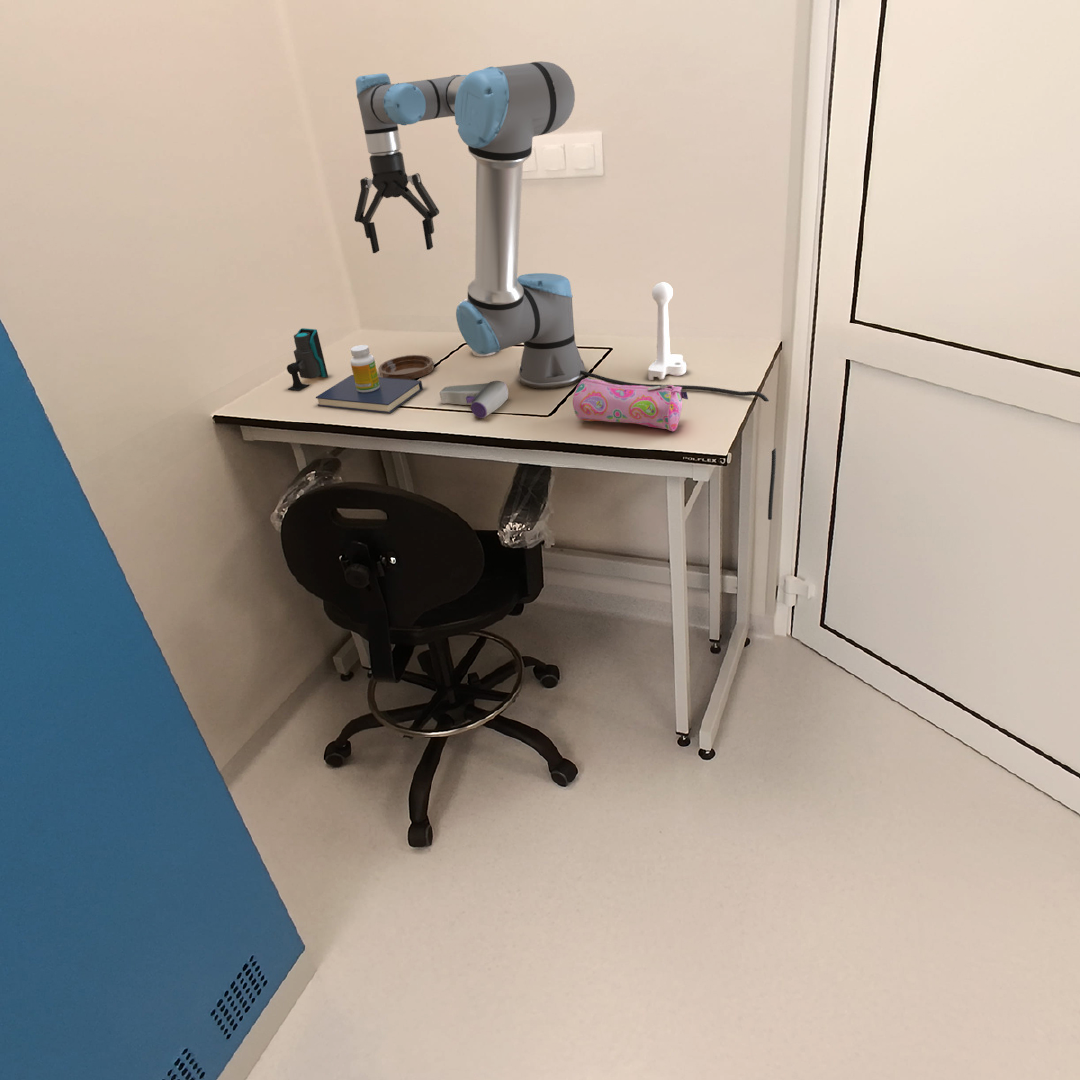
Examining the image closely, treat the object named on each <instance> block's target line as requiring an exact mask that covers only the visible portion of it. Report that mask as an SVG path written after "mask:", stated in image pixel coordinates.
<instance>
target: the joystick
mask: <svg viewBox="0 0 1080 1080" xmlns="http://www.w3.org/2000/svg"><path fill="white" fill-rule="evenodd" d="M651 291H652V292H651V296H652V299H653V300H654V301H655V302H656V305H657V323H656V324H657V325H656V326H657V327H656V329H657V330H656V331H657V332H656V359H655V360H654V361H653V362H652V363H650V365H649V366H648V370H647V372H648V374H647V375H648V380H649V381H654V379H655V378H658V380H664V379H665V377H666V375H671V376H675V377H679V376H683V375H685V374H686V372H687V362H686V361H685V360H683V359H684V357H683V354H677V353H671V343H670V325H669V323H670V322H669V321H670V320H669V308H668V307H669V302H670V301H671V300H672V298H673V297H674V289H673V287H672V286H671V284H670V283H668V282H665V281H661V282H657V283H656V284H655V285H654V286H653V288H652V290H651Z"/></svg>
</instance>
